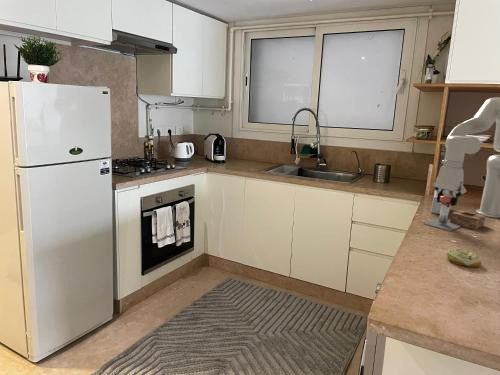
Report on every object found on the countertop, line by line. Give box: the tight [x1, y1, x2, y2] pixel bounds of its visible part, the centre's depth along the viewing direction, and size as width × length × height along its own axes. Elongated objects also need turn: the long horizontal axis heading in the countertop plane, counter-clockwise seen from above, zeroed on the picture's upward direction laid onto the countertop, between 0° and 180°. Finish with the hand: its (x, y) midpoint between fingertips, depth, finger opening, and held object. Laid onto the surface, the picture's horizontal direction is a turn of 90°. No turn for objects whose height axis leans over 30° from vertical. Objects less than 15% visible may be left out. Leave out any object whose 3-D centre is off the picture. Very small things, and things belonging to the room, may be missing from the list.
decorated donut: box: [446, 247, 483, 268], centre depth 132 cm, size 10×11×4 cm
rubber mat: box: [423, 218, 462, 232], centre depth 175 cm, size 12×12×1 cm
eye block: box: [449, 209, 487, 230], centre depth 179 cm, size 11×11×5 cm
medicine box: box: [430, 195, 442, 215], centre depth 195 cm, size 8×4×9 cm, turn 65°
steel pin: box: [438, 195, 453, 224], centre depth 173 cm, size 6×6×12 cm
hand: (446, 203), depth 173 cm, fingers closed on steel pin, 5 cm apart
